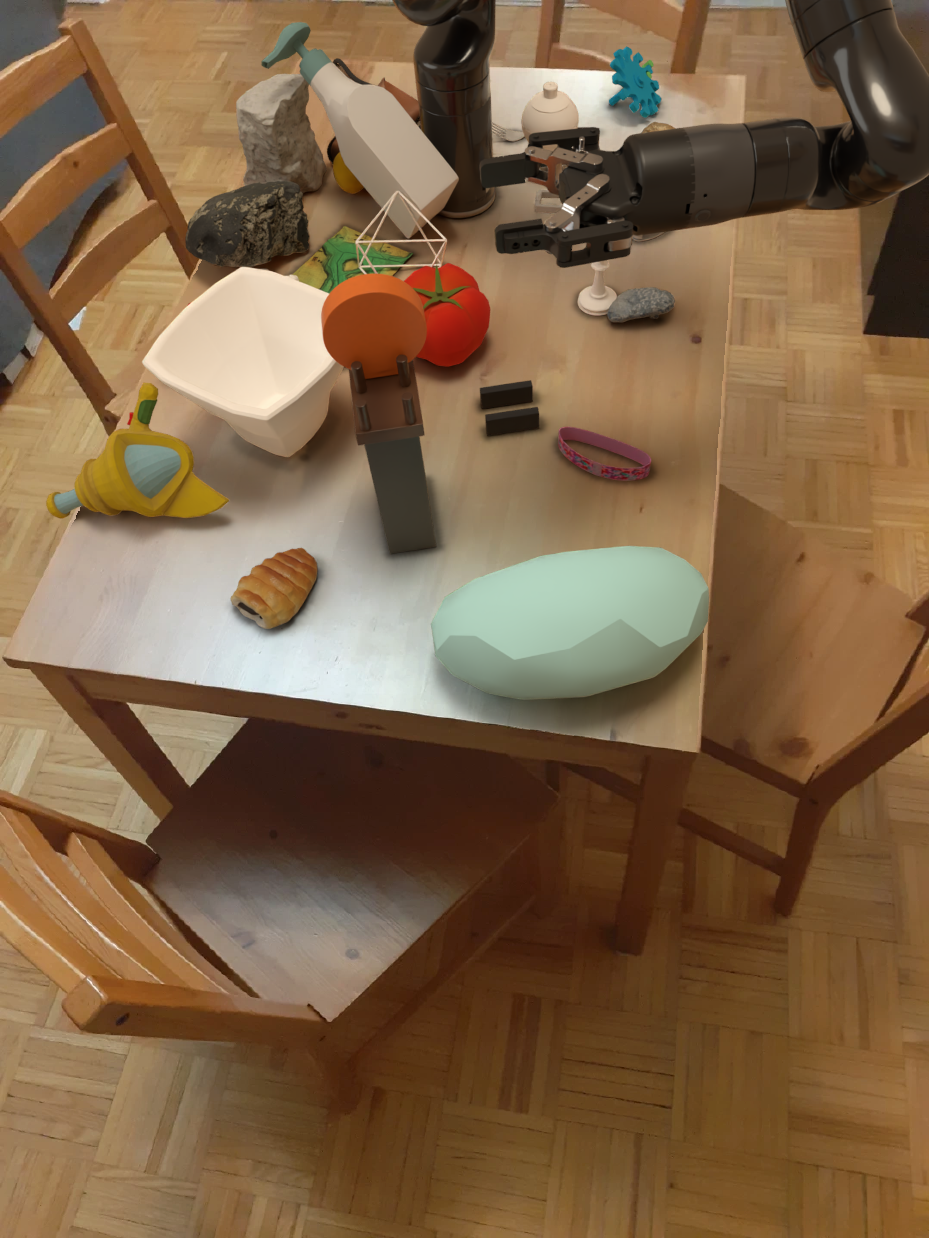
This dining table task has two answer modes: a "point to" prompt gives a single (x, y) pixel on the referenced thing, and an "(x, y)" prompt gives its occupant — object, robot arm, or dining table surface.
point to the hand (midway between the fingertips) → (487, 206)
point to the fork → (511, 133)
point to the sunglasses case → (402, 97)
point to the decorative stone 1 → (279, 133)
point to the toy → (140, 474)
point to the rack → (386, 404)
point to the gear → (635, 82)
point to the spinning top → (549, 113)
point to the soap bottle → (373, 136)
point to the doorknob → (345, 176)
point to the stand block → (402, 493)
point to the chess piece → (597, 293)
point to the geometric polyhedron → (399, 240)
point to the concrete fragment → (249, 225)
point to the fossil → (640, 304)
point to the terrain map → (348, 260)
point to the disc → (373, 323)
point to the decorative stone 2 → (572, 622)
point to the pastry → (276, 588)
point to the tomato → (450, 313)
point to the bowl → (252, 358)
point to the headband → (607, 444)
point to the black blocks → (509, 419)
